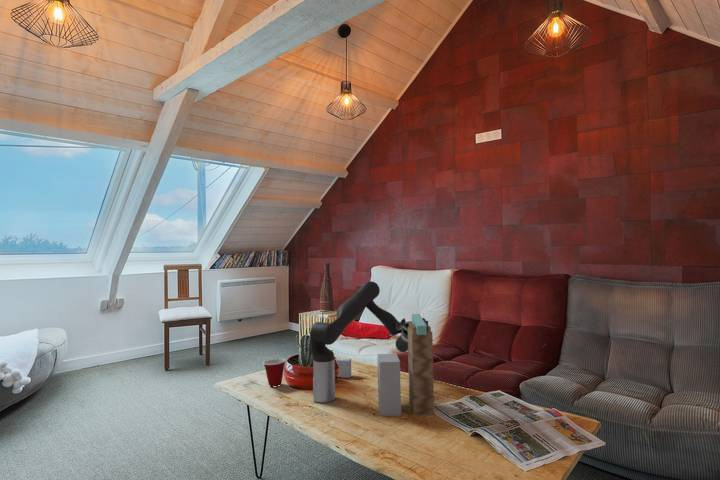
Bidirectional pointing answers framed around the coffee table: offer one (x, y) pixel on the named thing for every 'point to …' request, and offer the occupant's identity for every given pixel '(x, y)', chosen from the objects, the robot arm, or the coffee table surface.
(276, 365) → the plastic cup
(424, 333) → the bar
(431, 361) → the post
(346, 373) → the medicine box
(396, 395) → the tall gray pillar
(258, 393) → the coffee table surface
